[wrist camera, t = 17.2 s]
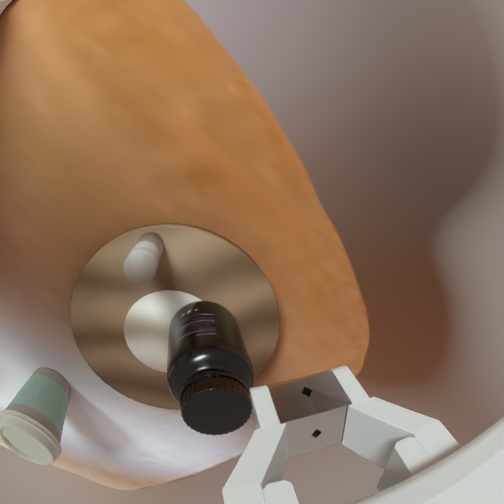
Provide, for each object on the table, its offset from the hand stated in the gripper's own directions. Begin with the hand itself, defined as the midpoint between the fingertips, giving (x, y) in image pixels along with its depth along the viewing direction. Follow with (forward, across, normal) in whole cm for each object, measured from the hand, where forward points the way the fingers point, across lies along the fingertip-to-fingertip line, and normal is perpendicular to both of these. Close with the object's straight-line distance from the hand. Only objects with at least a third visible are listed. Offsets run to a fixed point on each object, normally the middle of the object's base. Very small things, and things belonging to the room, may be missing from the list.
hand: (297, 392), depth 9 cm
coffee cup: (+23, +27, +17) cm, 40 cm away
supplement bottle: (+20, +4, +9) cm, 22 cm away
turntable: (+21, +7, +9) cm, 24 cm away
